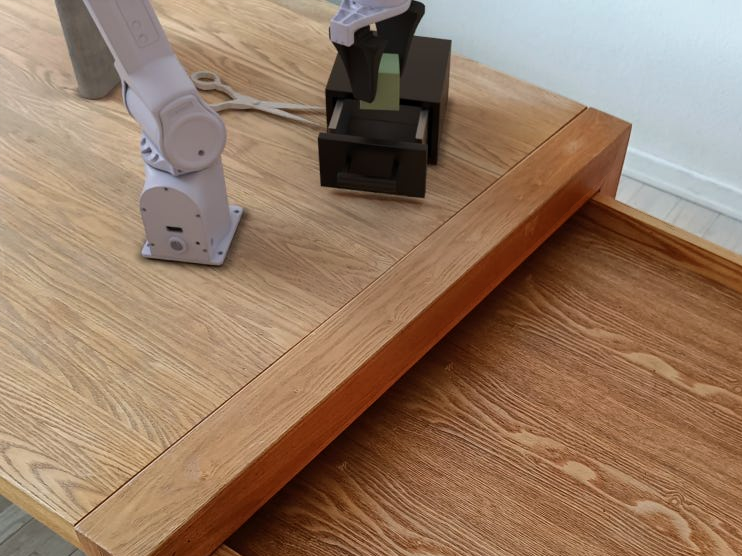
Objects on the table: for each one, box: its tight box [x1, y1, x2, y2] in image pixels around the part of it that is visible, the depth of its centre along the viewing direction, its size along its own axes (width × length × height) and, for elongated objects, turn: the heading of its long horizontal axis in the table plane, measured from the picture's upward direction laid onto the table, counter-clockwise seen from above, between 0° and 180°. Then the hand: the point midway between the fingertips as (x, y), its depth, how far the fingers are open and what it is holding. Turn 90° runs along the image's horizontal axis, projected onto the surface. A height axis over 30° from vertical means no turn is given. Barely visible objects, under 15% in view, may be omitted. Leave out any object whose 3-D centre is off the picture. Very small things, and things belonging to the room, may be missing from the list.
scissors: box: [190, 70, 326, 127], centre depth 105 cm, size 11×1×20 cm
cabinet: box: [324, 29, 453, 166], centre depth 103 cm, size 15×13×8 cm
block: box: [360, 53, 400, 111], centre depth 91 cm, size 4×4×4 cm
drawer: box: [317, 98, 432, 199], centre depth 97 cm, size 18×11×6 cm, turn 176°
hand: (378, 86), depth 92 cm, fingers closed on block, 5 cm apart
